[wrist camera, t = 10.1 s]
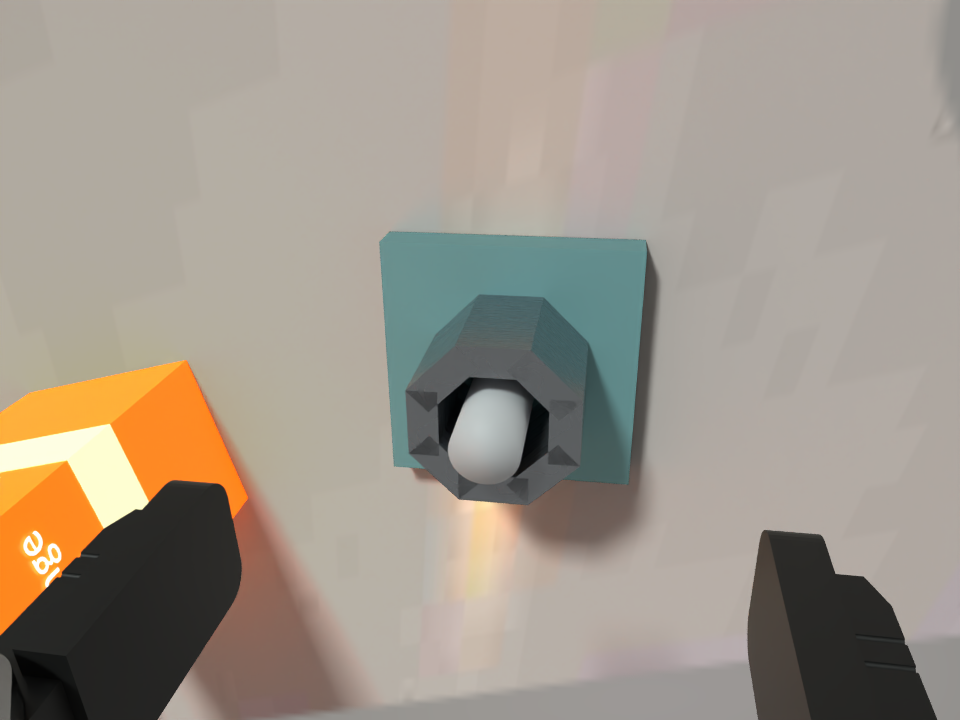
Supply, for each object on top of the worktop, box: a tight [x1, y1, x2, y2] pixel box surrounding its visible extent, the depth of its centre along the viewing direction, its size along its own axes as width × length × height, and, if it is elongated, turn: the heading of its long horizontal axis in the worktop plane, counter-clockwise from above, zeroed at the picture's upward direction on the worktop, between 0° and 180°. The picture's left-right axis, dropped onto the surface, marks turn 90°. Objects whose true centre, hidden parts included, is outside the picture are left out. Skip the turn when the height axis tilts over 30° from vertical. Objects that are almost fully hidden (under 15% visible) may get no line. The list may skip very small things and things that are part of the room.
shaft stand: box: [379, 232, 647, 485], centre depth 29 cm, size 10×10×8 cm
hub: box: [405, 294, 588, 505], centre depth 29 cm, size 6×6×5 cm
